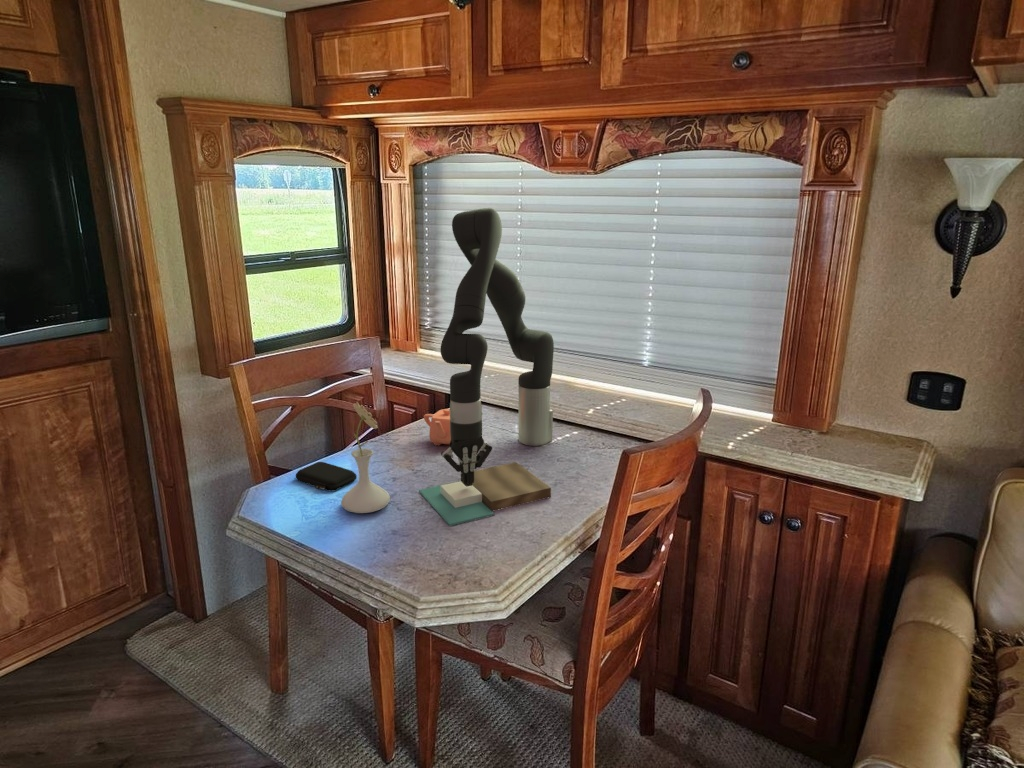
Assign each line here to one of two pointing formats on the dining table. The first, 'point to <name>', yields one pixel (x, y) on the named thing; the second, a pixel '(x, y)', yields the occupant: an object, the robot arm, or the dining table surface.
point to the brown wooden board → (509, 486)
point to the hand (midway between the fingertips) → (467, 484)
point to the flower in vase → (364, 476)
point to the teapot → (439, 426)
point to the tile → (461, 494)
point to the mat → (452, 513)
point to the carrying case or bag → (326, 476)
